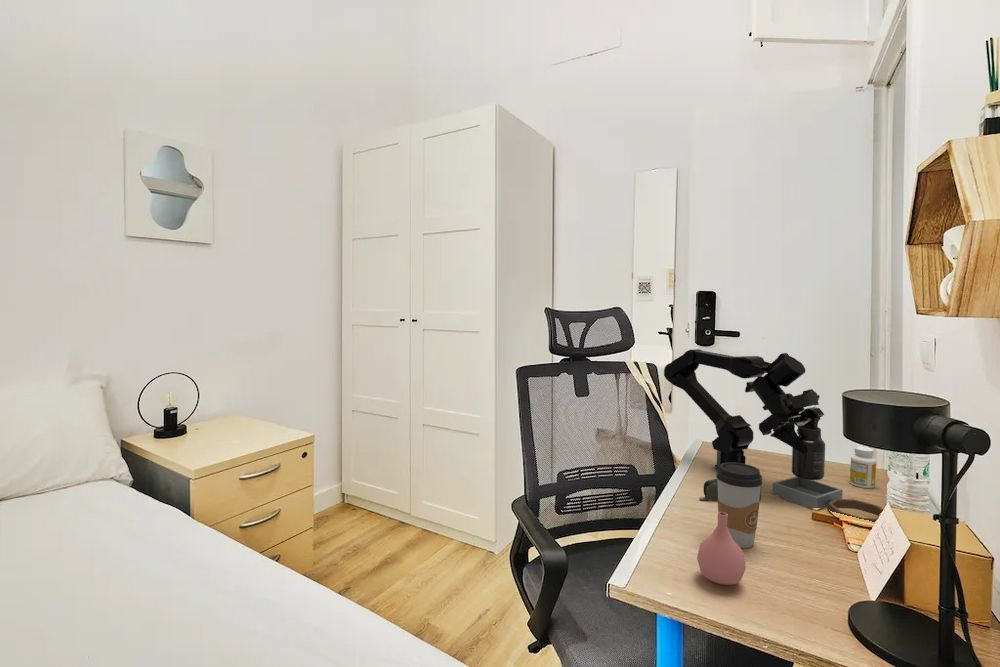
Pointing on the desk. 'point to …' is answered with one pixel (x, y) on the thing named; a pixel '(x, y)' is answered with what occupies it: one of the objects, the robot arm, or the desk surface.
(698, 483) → the desk surface
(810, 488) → the tray
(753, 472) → the coffee cup
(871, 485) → the supplement bottle
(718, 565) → the pink vase
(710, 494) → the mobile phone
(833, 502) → the brown shallow dish
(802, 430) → the supplement bottle
